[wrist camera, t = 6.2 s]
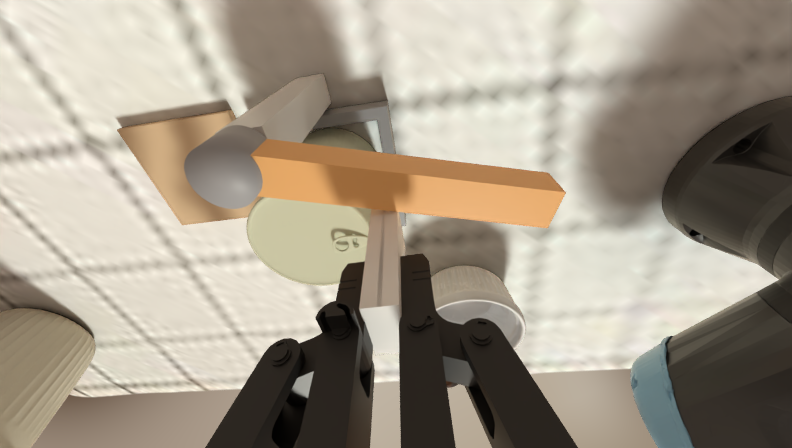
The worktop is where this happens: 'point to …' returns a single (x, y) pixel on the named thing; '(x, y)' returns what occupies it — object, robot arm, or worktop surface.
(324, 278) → the can
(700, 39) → the worktop surface
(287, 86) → the socket
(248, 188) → the orange bar
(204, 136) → the plate
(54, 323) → the canister
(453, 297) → the ramekin
